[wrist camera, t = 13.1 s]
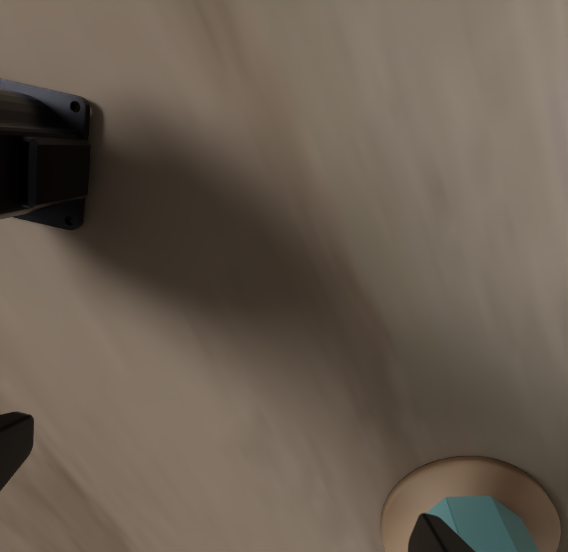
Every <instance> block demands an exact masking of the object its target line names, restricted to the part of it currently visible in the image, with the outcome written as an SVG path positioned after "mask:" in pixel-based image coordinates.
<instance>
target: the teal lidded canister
mask: <svg viewBox="0 0 568 552" xmlns="http://www.w3.org/2000/svg"><path fill="white" fill-rule="evenodd" d="M426 513H427V514H431V515H435V516H438V517H440V518H441V519H442V520H443V521H444V522H445V523H446V524H447V525H448V526H449V527H450V528H452V529H453V530H454V531H455V532H456V533H457V534H458V535H459V536H460V537H461V538H462V539H463V540H464V541H465V542H466V543H467V544H468V545H469V546H470V547H471V548H472V549H473V550H474V551H475V552H539V550H538V548H537V547H536V545H535V543H534V541H533V539H532V537H531V535H530V533H529V531H528V530H527V528H526V526H525V524H524V522H523V520H522V519H521V518H520V517H518V516H517V515H516V514H514V513H513V512H512V511H510V510H509V509H508V508H506V507H505V506H504V505H502V504H501V503H500V502H498V501H497V500H496V499H494V498H493V497H492V496H461V497H445V498H444V499H442V500H441V501H440V502H439V503H438V504H436V505H435V506H434V507H433V508H431V509H430V510H429V511H428V512H426Z"/></svg>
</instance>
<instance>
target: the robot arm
mask: <svg viewBox="0 0 568 552" xmlns="http://www.w3.org/2000/svg"><path fill="white" fill-rule="evenodd" d="M77 102H78V103H79V104H80V111H79V112H77V111H76V110H75V104H76V103H77ZM89 118H90V106H89V103H88V101H87V100H86V99H85V98H83V97H80V96H76V95H72V94H67V93H63V92H58V91H54V90H49V89H45V88H40V87H36V86H31V85H27V84H23V83H18V82H14V81H9V80H5V79H0V219H4V218H9V217H15V218H19V219H23V220H28V221H32V222H36V223H40V224H45V225H49V226H53V227H58V228H62V229H66V230H75V229H78V228H80V227H81V226H82V224H83V217H84V201H85V196H86V195H87V194H88V179H89V163H90V145H89V143H88V135H89ZM70 216H71V217H72V218H73V219H74V224H72V223H71V222H70V220H69V217H70ZM33 436H34V419H33V417H32V416H31V415H29V414H25V413H21V412H10V413H6V414H2V415H0V491H1V490H2V488H3V487H4V486H5V485H6V483H7V482H8V481H9V480H10V478H11V477H12V476H13V475H14V473H15V472H16V471H17V470H18V469H19V467H20V466H21V465H22V464H23V462H24V461H25V460H26V459H27V457H28V456H29V454H30V452H31V450H32V447H33ZM408 552H475V551H474V550H473V549H472V548H471V547H470V546H469V545H468V544H467V543H466V542H465V541H464V540H463V539H462V538H461V537H460V536H459V535H458V534H457V533H456V532H455V531H454V530H453V529H452V528H450V527H449V526H448V525H447V524H446V523H445V522H444V521H443V520H442V519H441V518H440V517H438V516H435V515H431V514H427V513H421V514H420V515H419V517H418V519H417V521H416V524H415V526H414V529H413V531H412V533H411V536H410V538H409V543H408Z"/></svg>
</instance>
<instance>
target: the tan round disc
mask: <svg viewBox="0 0 568 552" xmlns="http://www.w3.org/2000/svg"><path fill="white" fill-rule="evenodd" d="M461 496H492V497H493V498H494V499H496V500H497V501H498V502H500V503H501V504H502V505H504V506H505V507H506V508H508V509H509V510H510V511H512V512H513V513H514V514H516V515H517V516H518V517H520V518H521V519H522V520H523V522H524V524H525V526H526V528H527V530H528V531H529V533H530V535H531V537H532V539H533V541H534V543H535V545H536V547H537V548H538V550H539V552H556V551H557V549H558V546H559V542H560V535H561V528H560V521H559V517H558V514H557V511H556V509H555V507H554V505H553V504H552V502H551V500H550V499H549V497H548V496H547V494H546V493H545V491H544V490H543V488H542V487H541V486H540V485H539V484H538V483H537V482H536V481H535V479H533V478H532V477H531V476H530V475H528V474H527V473H526V472H524V471H522V470H521V469H519V468H517V467H515V466H513V465H511V464H508V463H506V462H503V461H499V460H496V459H491V458H486V457H476V456H459V457H452V458H446V459H442V460H438V461H434V462H432V463H429V464H426V465H424V466H422V467H420V468H418V469H416V470H414V471H413V472H411V473H410V474H408V475H407V476H406V477H404V478H403V479H402V480H401V481H400V482H399V483H398V484H397V485H396V486H395V487H394V488H393V489H392V491H391V492H390V494H389V495H388V497H387V499H386V501H385V503H384V506H383V510H382V514H381V531H382V538H383V543H384V547H385V551H386V552H408V543H409V538H410V536H411V533H412V531H413V529H414V526H415V524H416V521H417V519H418V517H419V515H420V514H421V513H426V512H428V511H429V510H430V509H431V508H433V507H434V506H435V505H436V504H438V503H439V502H440V501H441V500H442V499H444V498H445V497H461Z"/></svg>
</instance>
